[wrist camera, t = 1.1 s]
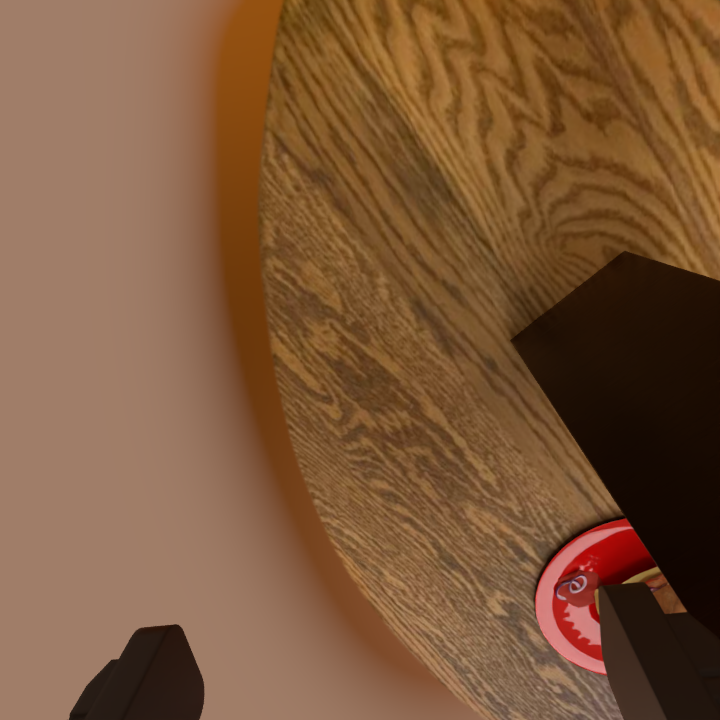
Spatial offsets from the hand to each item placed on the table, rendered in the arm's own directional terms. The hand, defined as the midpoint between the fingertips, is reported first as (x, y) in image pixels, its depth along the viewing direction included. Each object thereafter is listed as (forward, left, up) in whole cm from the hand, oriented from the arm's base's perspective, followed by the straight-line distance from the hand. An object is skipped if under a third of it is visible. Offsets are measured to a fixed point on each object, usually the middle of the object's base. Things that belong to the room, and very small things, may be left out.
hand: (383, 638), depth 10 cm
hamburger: (+26, -1, -24) cm, 35 cm away
